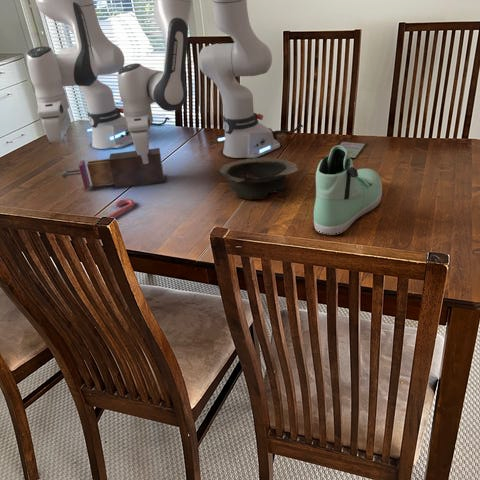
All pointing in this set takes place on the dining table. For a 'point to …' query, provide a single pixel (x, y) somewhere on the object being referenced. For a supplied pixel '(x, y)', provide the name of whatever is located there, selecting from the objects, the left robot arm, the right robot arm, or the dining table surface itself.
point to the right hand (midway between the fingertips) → (146, 157)
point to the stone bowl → (257, 176)
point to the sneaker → (343, 192)
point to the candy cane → (118, 212)
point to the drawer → (93, 173)
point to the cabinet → (136, 169)
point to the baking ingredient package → (352, 148)
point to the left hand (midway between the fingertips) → (64, 146)
